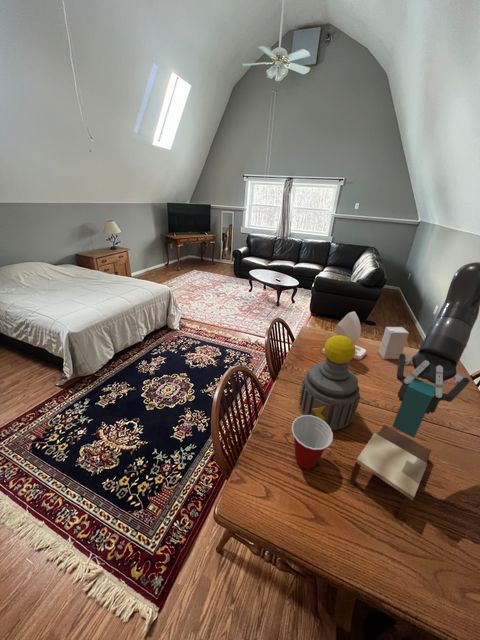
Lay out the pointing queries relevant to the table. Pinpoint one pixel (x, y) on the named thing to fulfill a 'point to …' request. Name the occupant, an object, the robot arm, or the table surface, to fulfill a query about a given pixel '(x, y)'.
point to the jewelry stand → (351, 332)
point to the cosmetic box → (393, 342)
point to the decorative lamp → (332, 385)
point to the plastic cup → (310, 439)
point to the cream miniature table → (394, 463)
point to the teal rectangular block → (413, 407)
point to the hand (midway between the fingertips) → (413, 406)
